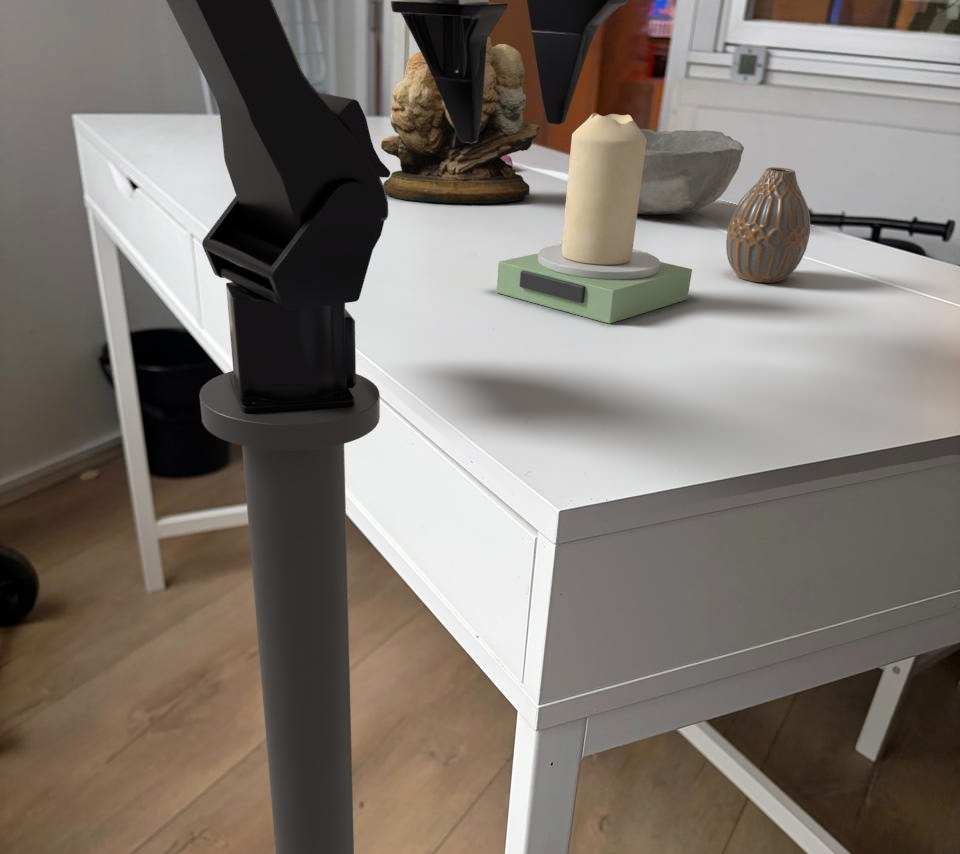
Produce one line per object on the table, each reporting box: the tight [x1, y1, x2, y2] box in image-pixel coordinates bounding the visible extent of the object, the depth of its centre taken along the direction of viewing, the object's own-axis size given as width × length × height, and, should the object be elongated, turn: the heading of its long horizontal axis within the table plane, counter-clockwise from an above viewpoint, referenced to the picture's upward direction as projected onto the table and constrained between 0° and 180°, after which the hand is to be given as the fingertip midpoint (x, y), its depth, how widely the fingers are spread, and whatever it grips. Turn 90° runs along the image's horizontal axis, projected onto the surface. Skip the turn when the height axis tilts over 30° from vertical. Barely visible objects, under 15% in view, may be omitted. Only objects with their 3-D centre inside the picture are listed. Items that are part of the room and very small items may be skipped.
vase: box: [725, 166, 811, 284], centre depth 86 cm, size 7×7×9 cm
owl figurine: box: [380, 36, 541, 204], centre depth 111 cm, size 18×12×17 cm, turn 105°
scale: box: [496, 243, 693, 325], centre depth 79 cm, size 11×11×3 cm
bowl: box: [637, 128, 745, 216], centre depth 110 cm, size 18×18×8 cm
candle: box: [561, 112, 647, 265], centre depth 76 cm, size 6×6×10 cm
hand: (514, 132), depth 61 cm, fingers open, 9 cm apart
